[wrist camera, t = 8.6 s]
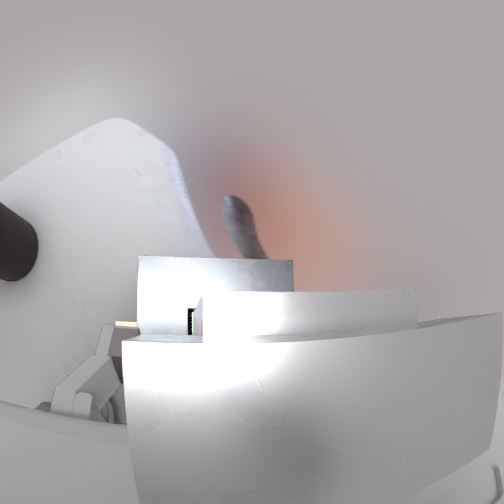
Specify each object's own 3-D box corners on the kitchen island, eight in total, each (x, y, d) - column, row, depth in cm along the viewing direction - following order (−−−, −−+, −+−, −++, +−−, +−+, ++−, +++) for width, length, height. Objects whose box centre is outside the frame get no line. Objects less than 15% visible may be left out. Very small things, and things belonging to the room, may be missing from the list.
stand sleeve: (133, 392, 25) (119, 411, 19) (133, 268, 27) (118, 254, 22) (274, 392, 28) (295, 408, 22) (272, 271, 30) (293, 259, 24)
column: (182, 359, 22) (157, 570, 2) (182, 312, 23) (123, 268, 3) (248, 359, 23) (481, 478, 3) (248, 313, 24) (499, 272, 4)
